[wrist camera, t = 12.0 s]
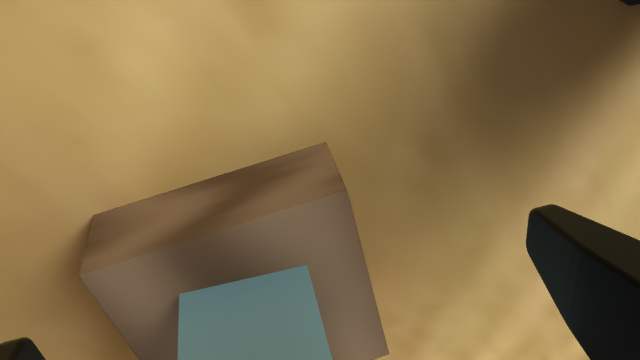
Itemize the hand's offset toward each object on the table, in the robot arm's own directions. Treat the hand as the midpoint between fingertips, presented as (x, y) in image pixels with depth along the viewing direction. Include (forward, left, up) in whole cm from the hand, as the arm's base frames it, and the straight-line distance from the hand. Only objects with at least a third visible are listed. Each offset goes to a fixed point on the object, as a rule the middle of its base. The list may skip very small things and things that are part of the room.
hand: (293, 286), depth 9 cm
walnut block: (+2, +10, -12) cm, 16 cm away
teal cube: (+2, +10, -8) cm, 13 cm away
